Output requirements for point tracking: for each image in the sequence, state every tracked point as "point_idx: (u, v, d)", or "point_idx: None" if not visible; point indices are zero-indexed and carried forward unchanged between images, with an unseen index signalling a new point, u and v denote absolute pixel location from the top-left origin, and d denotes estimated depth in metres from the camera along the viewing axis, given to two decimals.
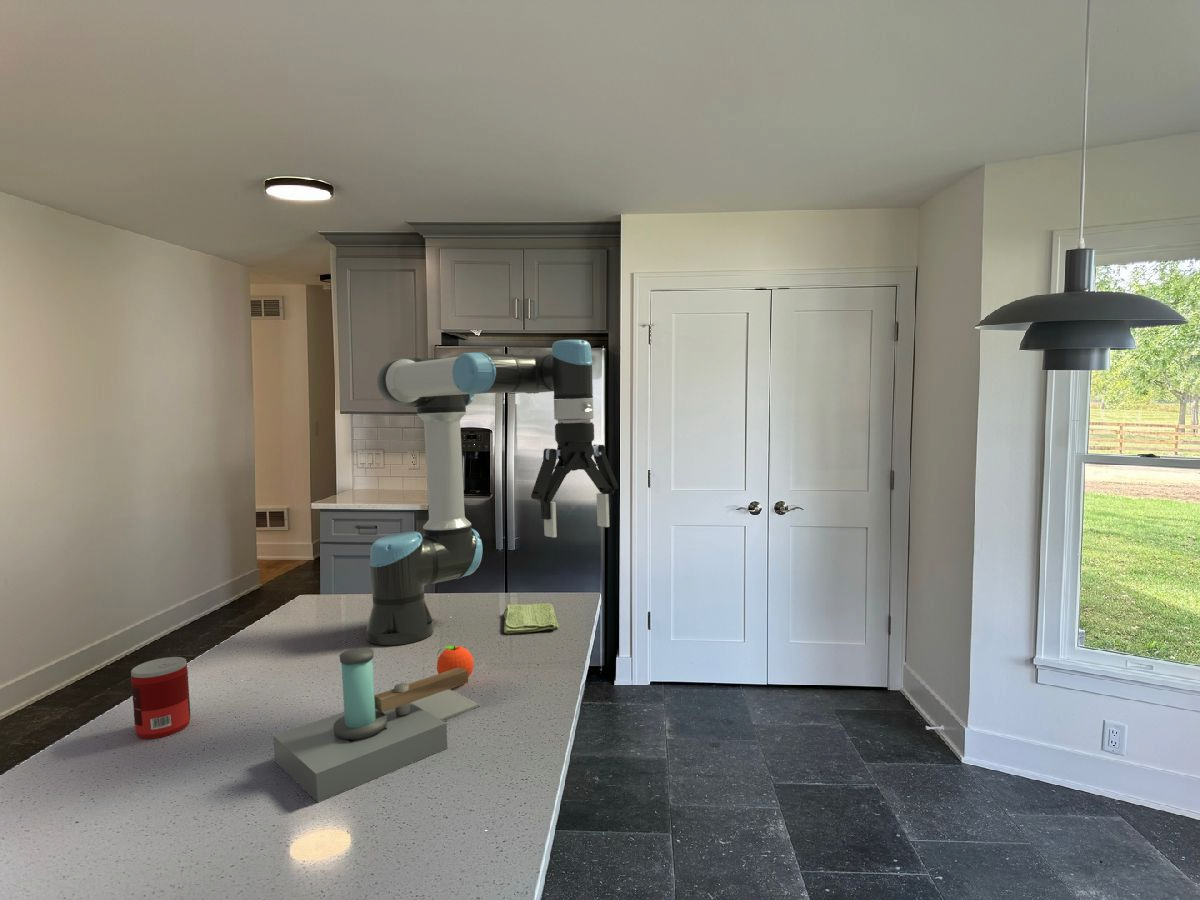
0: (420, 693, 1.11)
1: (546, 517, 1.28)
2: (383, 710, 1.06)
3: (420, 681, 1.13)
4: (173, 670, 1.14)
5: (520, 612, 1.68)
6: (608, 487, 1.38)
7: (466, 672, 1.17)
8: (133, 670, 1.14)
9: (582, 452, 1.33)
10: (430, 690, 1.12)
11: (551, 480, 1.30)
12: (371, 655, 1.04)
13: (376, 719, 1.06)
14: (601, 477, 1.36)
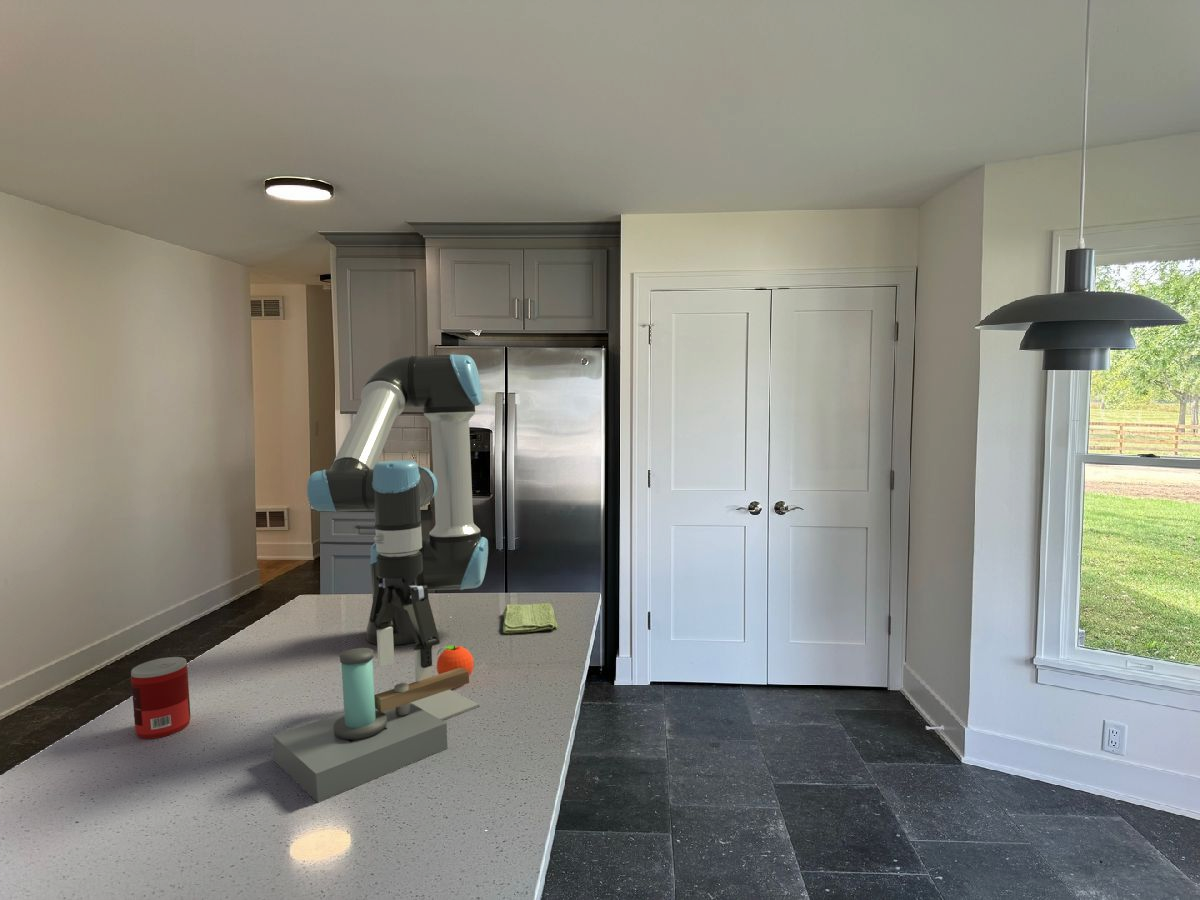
0: (420, 693, 1.11)
1: None
2: (382, 710, 1.06)
3: (420, 681, 1.13)
4: (173, 670, 1.14)
5: (519, 612, 1.68)
6: (417, 641, 1.12)
7: (467, 673, 1.17)
8: (133, 670, 1.14)
9: (396, 588, 1.17)
10: (430, 690, 1.12)
11: None
12: (371, 655, 1.04)
13: (376, 719, 1.06)
14: (411, 625, 1.14)
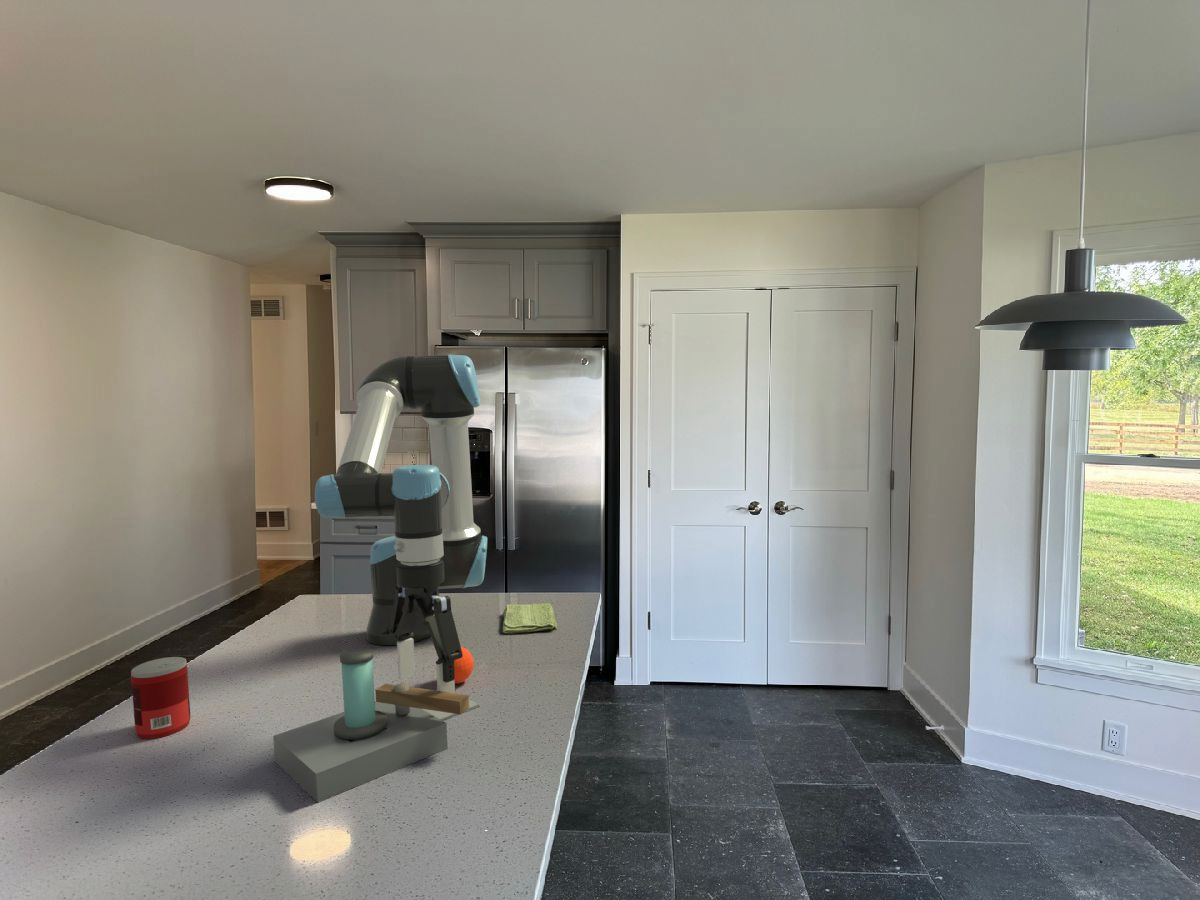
0: (410, 700, 1.08)
1: None
2: (377, 700, 1.10)
3: (423, 690, 1.09)
4: (173, 670, 1.14)
5: (519, 612, 1.68)
6: (440, 654, 1.08)
7: (458, 702, 1.05)
8: (133, 670, 1.14)
9: (417, 598, 1.12)
10: (420, 703, 1.07)
11: None
12: (371, 655, 1.04)
13: (376, 719, 1.06)
14: (433, 638, 1.09)
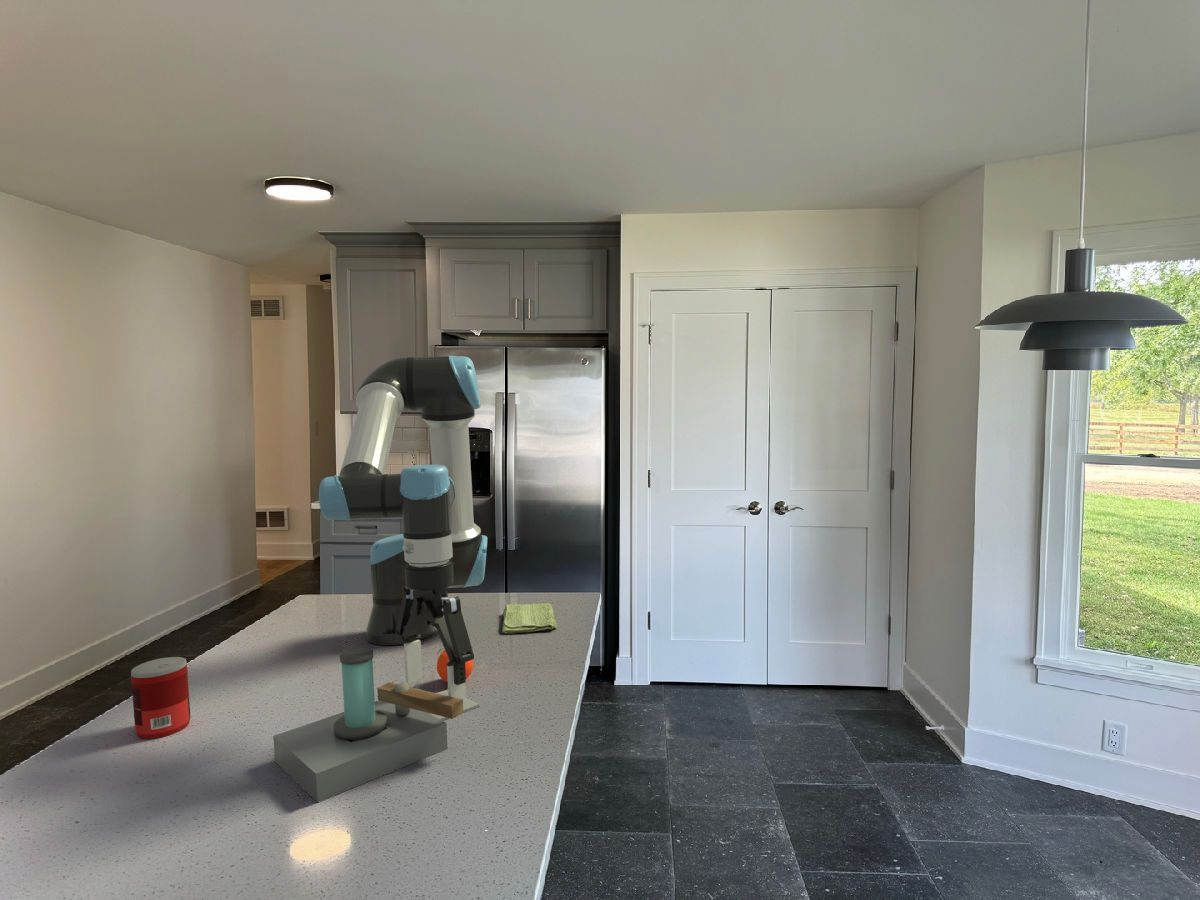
0: (407, 701, 1.08)
1: None
2: (379, 699, 1.11)
3: (422, 692, 1.09)
4: (173, 670, 1.14)
5: (519, 612, 1.68)
6: (450, 656, 1.06)
7: (450, 707, 1.03)
8: (133, 670, 1.14)
9: (426, 600, 1.10)
10: (416, 704, 1.07)
11: None
12: (371, 655, 1.04)
13: (376, 719, 1.06)
14: (443, 640, 1.07)
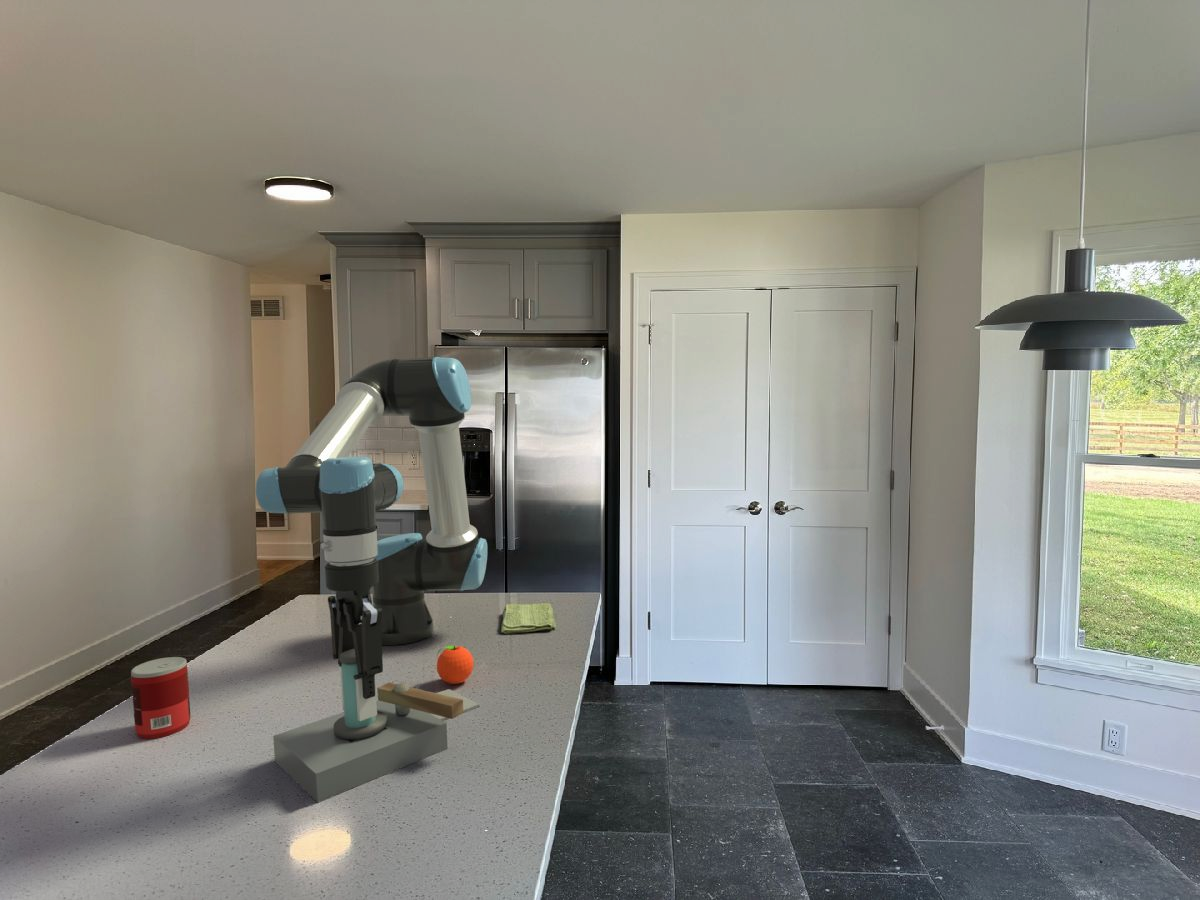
0: (407, 701, 1.08)
1: None
2: (379, 699, 1.11)
3: (422, 692, 1.09)
4: (173, 670, 1.14)
5: (518, 612, 1.68)
6: (359, 669, 1.01)
7: (450, 707, 1.03)
8: (133, 670, 1.14)
9: (348, 601, 1.02)
10: (416, 704, 1.07)
11: None
12: None
13: (376, 719, 1.05)
14: (356, 649, 1.02)
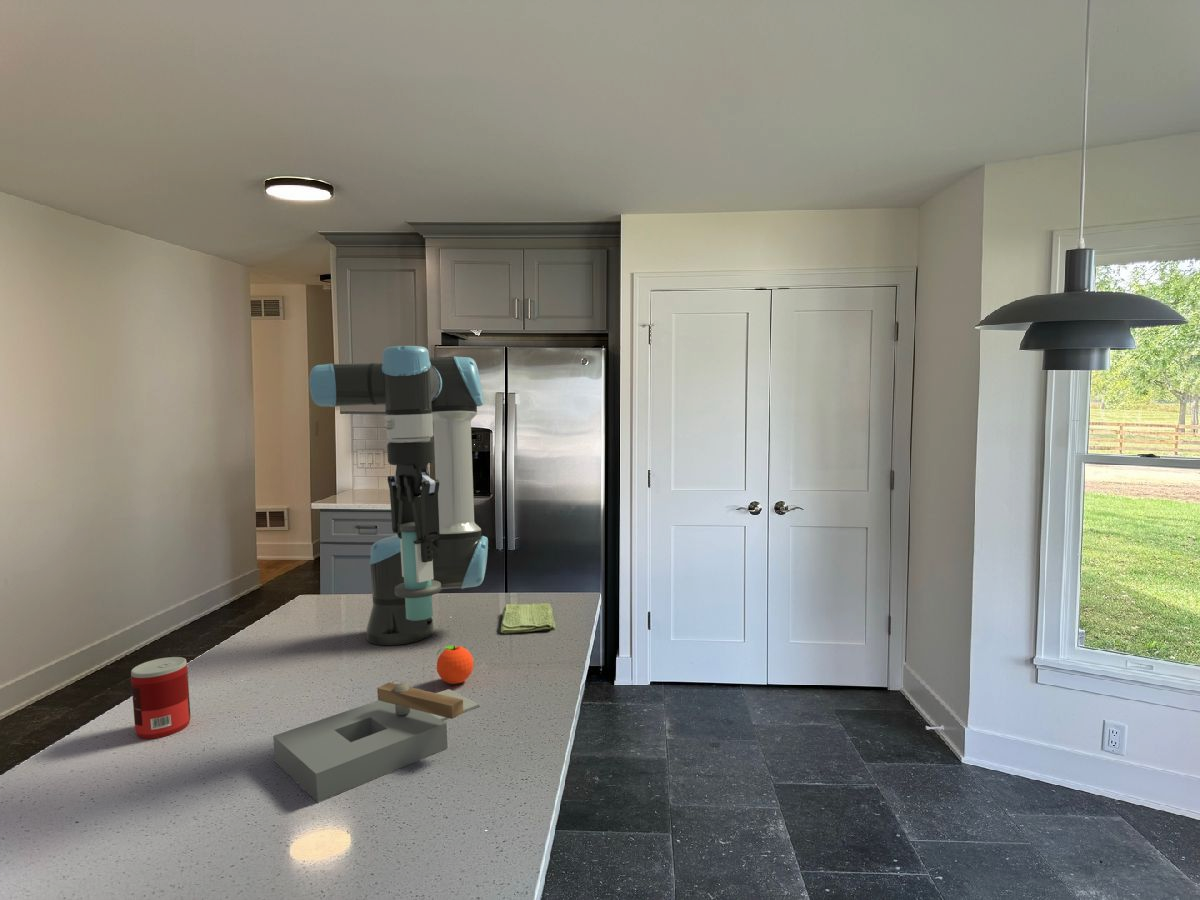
0: (407, 701, 1.08)
1: None
2: (379, 699, 1.11)
3: (422, 692, 1.09)
4: (173, 670, 1.14)
5: (518, 612, 1.68)
6: (419, 535, 1.13)
7: (450, 707, 1.03)
8: (133, 670, 1.14)
9: (408, 475, 1.14)
10: (416, 704, 1.07)
11: None
12: None
13: (432, 584, 1.17)
14: (416, 518, 1.13)
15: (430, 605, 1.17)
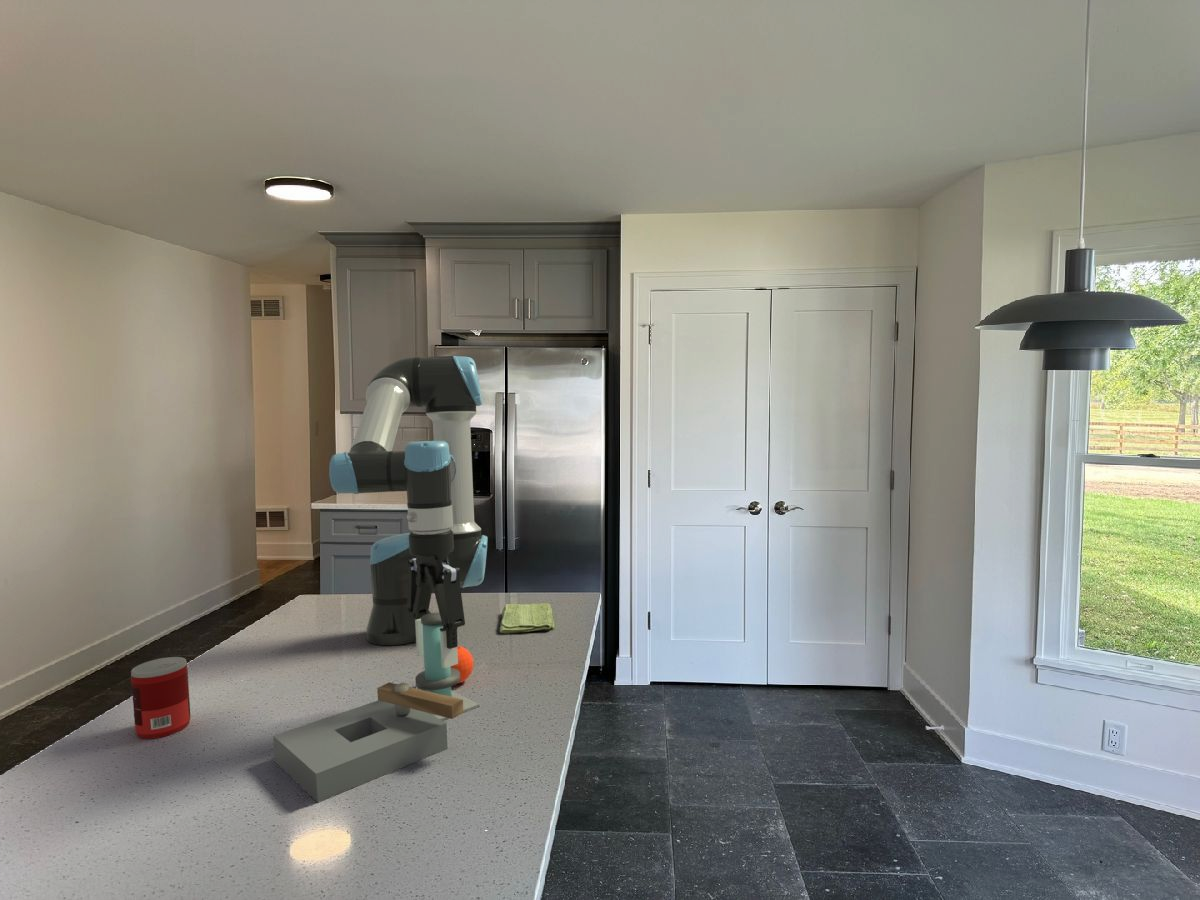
0: (407, 701, 1.08)
1: None
2: (379, 699, 1.11)
3: (422, 692, 1.09)
4: (173, 670, 1.14)
5: (517, 612, 1.69)
6: (444, 622, 1.16)
7: (450, 707, 1.03)
8: (133, 670, 1.14)
9: (428, 565, 1.18)
10: (416, 704, 1.07)
11: None
12: None
13: (451, 674, 1.22)
14: (440, 606, 1.17)
15: (450, 694, 1.21)
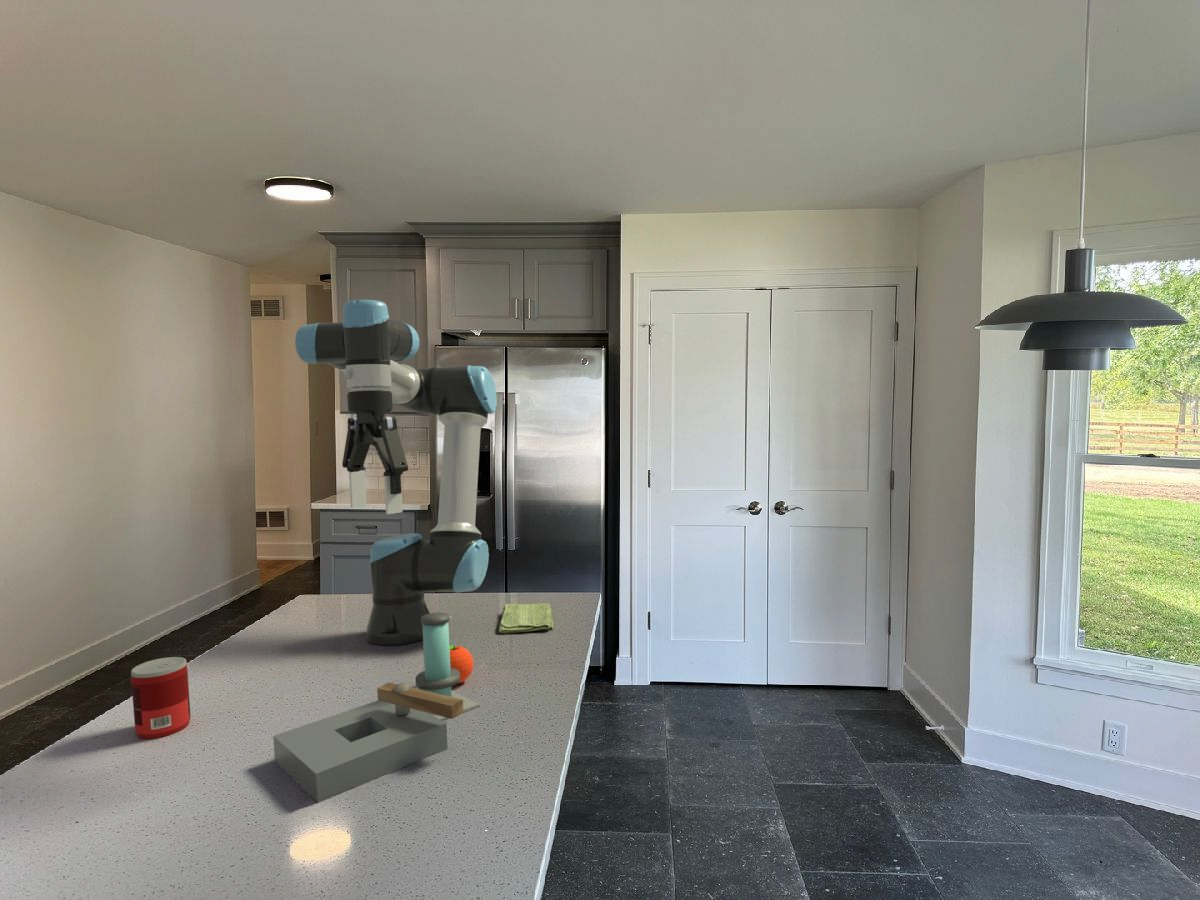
0: (407, 701, 1.08)
1: None
2: (379, 699, 1.11)
3: (422, 692, 1.09)
4: (173, 670, 1.14)
5: (517, 612, 1.69)
6: (387, 468, 1.17)
7: (450, 707, 1.03)
8: (133, 670, 1.14)
9: None
10: (416, 704, 1.07)
11: None
12: (448, 618, 1.20)
13: (451, 674, 1.22)
14: (381, 455, 1.18)
15: (450, 694, 1.21)
